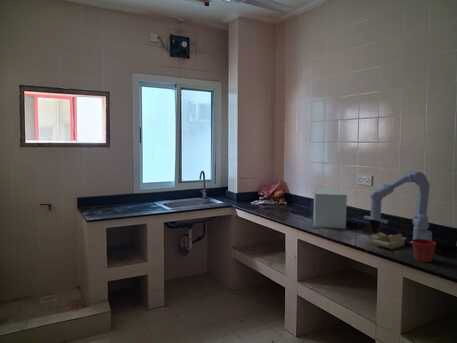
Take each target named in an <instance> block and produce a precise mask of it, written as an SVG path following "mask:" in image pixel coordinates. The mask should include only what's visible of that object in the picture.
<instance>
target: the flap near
mask: <svg viewBox="0 0 457 343" xmlns="http://www.w3.org/2000/svg"><path fill="white" fill-rule="evenodd" d="M392 235H393V236H389V235H388V236H389V238H390V240H391V242H392V243H395V242H398V241H401V240H404V239H403V238H404V236H403V235H402V233H401V232H400V233H396V234H392Z"/></svg>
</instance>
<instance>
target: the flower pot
mask: <svg viewBox="0 0 457 343" xmlns="http://www.w3.org/2000/svg"><path fill="white" fill-rule="evenodd" d="M411 241H412V243H411V244H412V250H413V256H414V259H415V260H416V261H419V262H423V263H430V262H432V261H433V258H434V254H435V251H436V250H435V249H436V246H437V242H435V241H433V240H432V241H431V240H426V239H413V238H412V240H411Z"/></svg>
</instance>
